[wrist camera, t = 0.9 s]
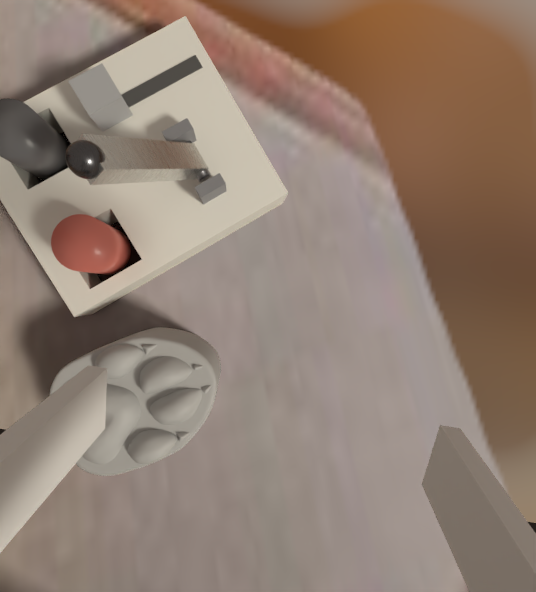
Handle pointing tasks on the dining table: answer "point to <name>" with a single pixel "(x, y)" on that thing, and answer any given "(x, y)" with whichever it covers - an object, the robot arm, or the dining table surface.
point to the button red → (90, 245)
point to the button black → (30, 140)
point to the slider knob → (100, 97)
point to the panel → (147, 195)
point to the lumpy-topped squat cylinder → (148, 397)
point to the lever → (134, 160)
